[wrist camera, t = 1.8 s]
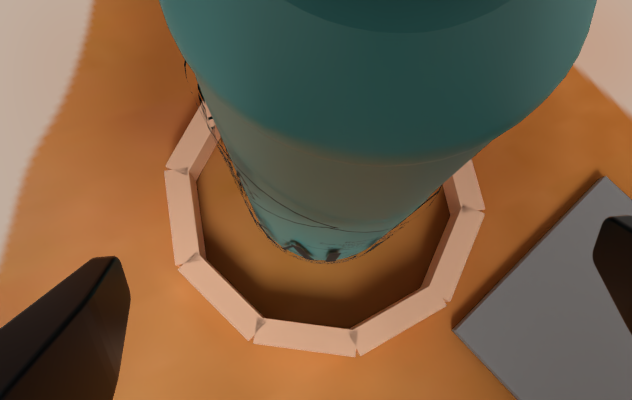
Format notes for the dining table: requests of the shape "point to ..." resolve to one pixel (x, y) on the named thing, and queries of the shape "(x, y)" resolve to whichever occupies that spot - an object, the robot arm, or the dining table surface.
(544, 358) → the rubber mat
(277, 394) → the dining table surface
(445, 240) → the pale pink ring
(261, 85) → the beverage bottle
